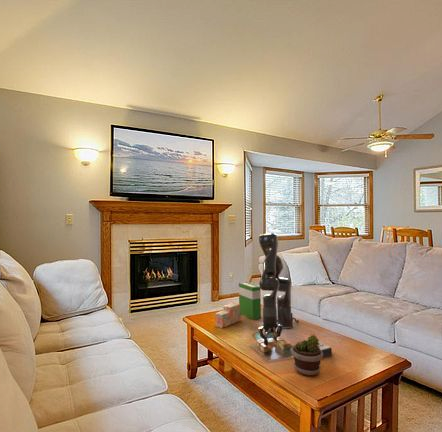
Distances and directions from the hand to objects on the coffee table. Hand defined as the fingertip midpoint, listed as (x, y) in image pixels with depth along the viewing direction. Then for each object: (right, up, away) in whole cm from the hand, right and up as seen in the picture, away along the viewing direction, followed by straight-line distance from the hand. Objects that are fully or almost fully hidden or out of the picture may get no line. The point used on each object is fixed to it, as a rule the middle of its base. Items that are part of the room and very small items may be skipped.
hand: (270, 344), depth 165 cm
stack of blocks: (-17, -7, +51) cm, 54 cm away
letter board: (+5, -6, +5) cm, 9 cm away
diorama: (+3, -7, +24) cm, 25 cm away
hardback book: (+2, -6, +67) cm, 68 cm away
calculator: (+26, -6, +4) cm, 27 cm away
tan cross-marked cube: (0, 0, 0) cm, 0 cm away
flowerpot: (+14, -6, -17) cm, 23 cm away
